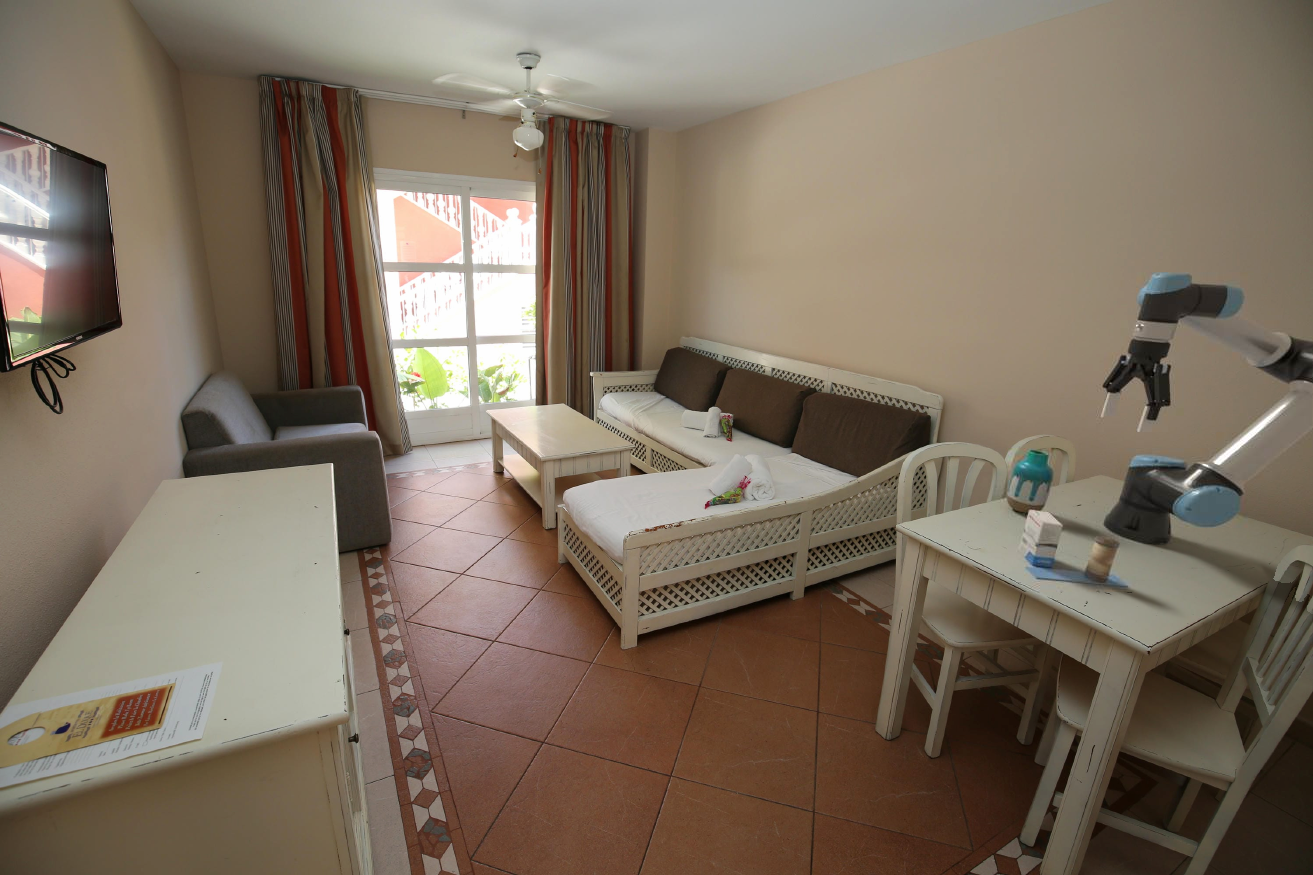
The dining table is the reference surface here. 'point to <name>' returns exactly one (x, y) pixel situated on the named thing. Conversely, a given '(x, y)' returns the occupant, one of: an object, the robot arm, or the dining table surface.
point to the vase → (1030, 482)
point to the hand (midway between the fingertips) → (1124, 424)
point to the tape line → (1071, 576)
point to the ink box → (1040, 538)
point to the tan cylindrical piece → (1101, 559)
